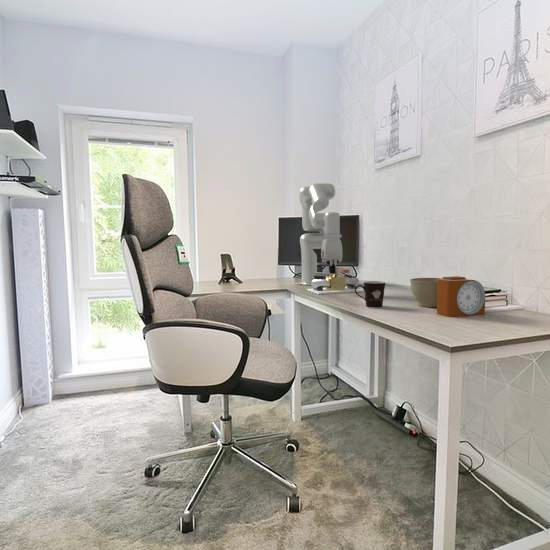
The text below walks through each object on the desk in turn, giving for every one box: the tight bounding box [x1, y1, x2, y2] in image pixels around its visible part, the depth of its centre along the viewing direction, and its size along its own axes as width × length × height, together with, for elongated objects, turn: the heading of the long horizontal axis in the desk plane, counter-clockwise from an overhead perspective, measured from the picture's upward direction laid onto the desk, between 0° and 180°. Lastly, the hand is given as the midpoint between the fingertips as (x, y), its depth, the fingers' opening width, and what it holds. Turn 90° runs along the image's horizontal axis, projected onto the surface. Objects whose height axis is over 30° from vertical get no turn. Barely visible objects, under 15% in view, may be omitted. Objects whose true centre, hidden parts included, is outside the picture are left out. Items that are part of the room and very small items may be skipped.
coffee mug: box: [354, 280, 386, 308], centre depth 156 cm, size 12×9×10 cm
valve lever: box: [336, 267, 350, 274], centre depth 198 cm, size 15×4×2 cm, turn 17°
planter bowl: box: [409, 277, 441, 308], centre depth 154 cm, size 16×16×11 cm
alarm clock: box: [436, 275, 486, 318], centre depth 137 cm, size 15×8×14 cm, turn 105°
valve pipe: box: [310, 271, 360, 291], centre depth 203 cm, size 7×26×10 cm, turn 107°
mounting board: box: [306, 286, 365, 295], centre depth 203 cm, size 16×27×1 cm, turn 107°
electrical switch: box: [314, 271, 331, 280], centre depth 216 cm, size 9×5×9 cm, turn 57°
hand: (332, 273), depth 192 cm, fingers closed
